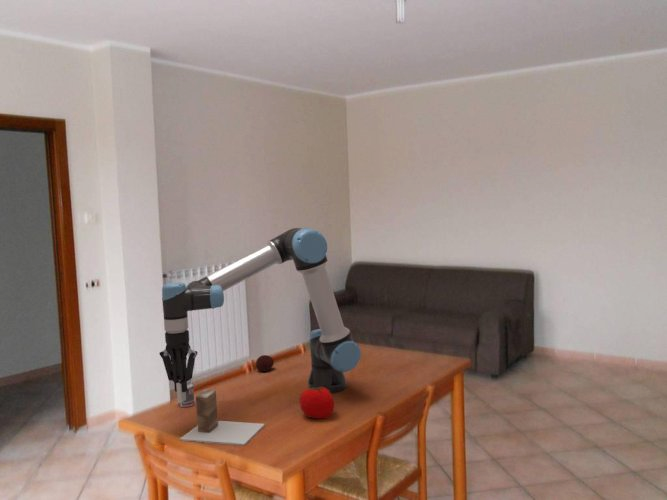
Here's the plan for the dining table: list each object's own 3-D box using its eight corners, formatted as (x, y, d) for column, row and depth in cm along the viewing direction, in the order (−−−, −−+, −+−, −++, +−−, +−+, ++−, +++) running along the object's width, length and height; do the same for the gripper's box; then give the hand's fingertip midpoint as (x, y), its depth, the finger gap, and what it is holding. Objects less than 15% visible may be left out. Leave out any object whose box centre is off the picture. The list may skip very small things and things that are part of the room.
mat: (265, 425, 193) (264, 423, 193) (244, 445, 177) (244, 443, 177) (205, 421, 199) (204, 419, 199) (179, 440, 184) (179, 438, 184)
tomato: (325, 424, 191) (323, 394, 190) (293, 418, 198) (291, 388, 197) (343, 413, 200) (341, 384, 200) (312, 407, 207) (310, 379, 206)
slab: (218, 425, 193) (215, 389, 192) (209, 432, 187) (206, 396, 186) (207, 424, 194) (204, 389, 193) (198, 431, 188) (195, 395, 187)
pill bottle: (197, 402, 218) (195, 376, 217) (188, 408, 213) (187, 381, 212) (184, 401, 220) (182, 375, 219) (175, 406, 215) (173, 380, 214)
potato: (278, 368, 258) (277, 353, 257) (265, 374, 251) (265, 358, 250) (265, 367, 262) (264, 351, 261) (252, 372, 254) (251, 356, 254)
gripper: (200, 328, 192) (205, 398, 194) (165, 327, 196) (170, 396, 198) (188, 333, 185) (193, 406, 187) (152, 332, 189) (158, 404, 191)
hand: (181, 401), depth 193 cm, fingers closed
